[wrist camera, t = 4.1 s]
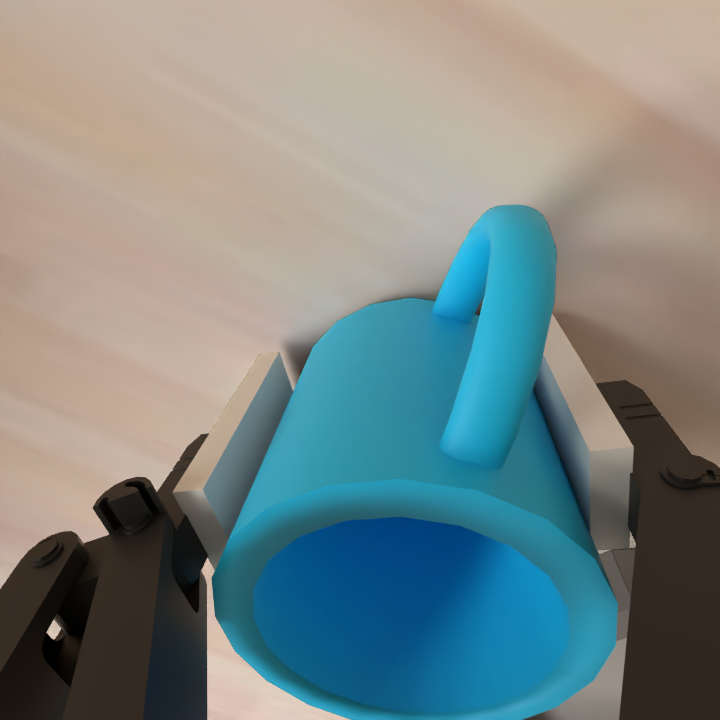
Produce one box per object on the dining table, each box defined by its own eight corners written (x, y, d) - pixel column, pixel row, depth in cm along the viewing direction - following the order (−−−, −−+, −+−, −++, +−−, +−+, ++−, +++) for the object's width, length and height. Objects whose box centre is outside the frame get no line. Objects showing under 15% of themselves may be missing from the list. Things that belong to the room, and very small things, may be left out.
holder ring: (491, 758, 29) (496, 812, 27) (450, 558, 21) (452, 611, 19) (839, 771, 25) (878, 835, 23) (953, 532, 17) (1030, 595, 15)
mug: (478, 513, 19) (513, 762, 12) (281, 459, 19) (195, 679, 12) (640, 219, 13) (904, 363, 6) (355, 135, 13) (273, 179, 6)
